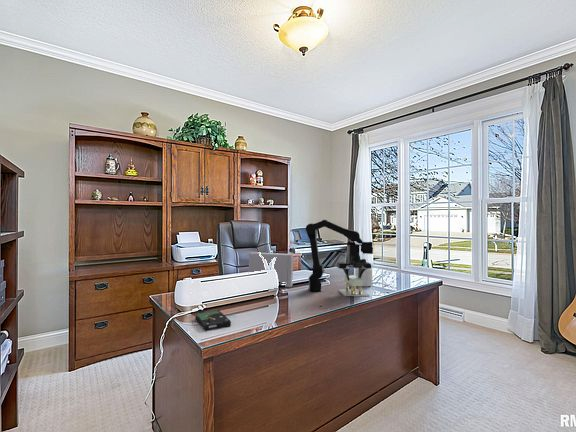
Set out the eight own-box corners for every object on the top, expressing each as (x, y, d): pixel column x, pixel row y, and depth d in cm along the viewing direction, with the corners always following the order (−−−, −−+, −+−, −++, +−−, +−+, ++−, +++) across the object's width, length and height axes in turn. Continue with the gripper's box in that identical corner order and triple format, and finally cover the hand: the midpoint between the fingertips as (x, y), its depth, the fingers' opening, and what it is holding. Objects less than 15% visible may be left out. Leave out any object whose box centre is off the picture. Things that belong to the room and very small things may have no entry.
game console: (290, 287, 181) (291, 255, 181) (248, 284, 186) (248, 253, 186) (292, 285, 186) (293, 253, 186) (251, 282, 192) (251, 252, 192)
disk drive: (231, 327, 116) (218, 316, 129) (231, 320, 116) (218, 309, 129) (205, 333, 111) (194, 320, 123) (205, 325, 111) (194, 313, 123)
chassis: (344, 296, 162) (345, 287, 162) (338, 291, 174) (338, 282, 174) (369, 296, 164) (369, 287, 164) (361, 290, 176) (361, 282, 176)
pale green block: (352, 286, 162) (353, 279, 162) (344, 281, 174) (344, 275, 174) (363, 285, 164) (363, 279, 164) (354, 281, 175) (354, 275, 175)
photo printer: (371, 285, 190) (371, 266, 190) (372, 287, 186) (373, 267, 186) (355, 284, 191) (355, 265, 191) (356, 286, 187) (356, 266, 187)
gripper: (342, 254, 160) (342, 283, 160) (375, 255, 162) (375, 283, 162) (336, 252, 171) (336, 279, 171) (367, 252, 173) (367, 279, 173)
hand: (353, 280), depth 169 cm, fingers closed on pale green block, 6 cm apart
